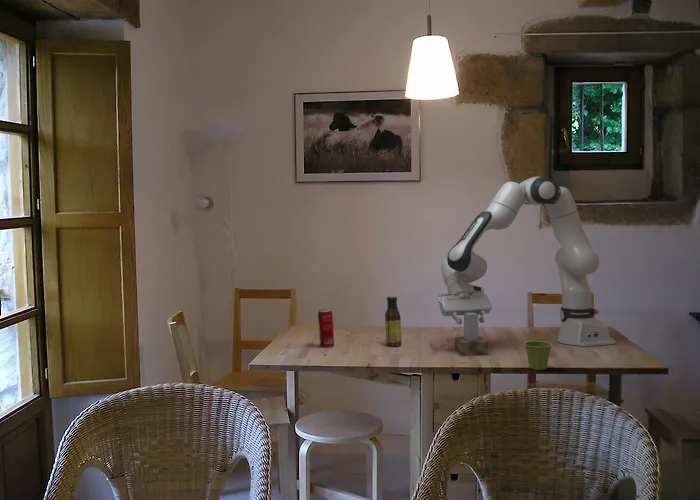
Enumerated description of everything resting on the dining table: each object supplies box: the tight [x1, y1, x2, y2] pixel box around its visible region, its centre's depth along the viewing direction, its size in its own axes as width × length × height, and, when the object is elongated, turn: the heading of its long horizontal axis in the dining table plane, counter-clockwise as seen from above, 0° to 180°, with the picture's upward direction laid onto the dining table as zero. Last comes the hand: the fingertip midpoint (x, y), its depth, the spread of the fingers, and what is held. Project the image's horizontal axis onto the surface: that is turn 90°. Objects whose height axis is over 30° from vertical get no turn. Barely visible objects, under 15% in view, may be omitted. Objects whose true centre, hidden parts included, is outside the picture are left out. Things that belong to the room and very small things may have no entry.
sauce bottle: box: [384, 295, 402, 348], centre depth 296 cm, size 7×6×20 cm
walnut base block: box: [454, 336, 489, 357], centre depth 280 cm, size 10×10×5 cm
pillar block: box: [463, 312, 479, 341], centre depth 280 cm, size 4×4×10 cm
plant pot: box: [524, 340, 553, 371], centre depth 256 cm, size 9×9×9 cm
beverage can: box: [317, 308, 335, 349], centre depth 296 cm, size 6×6×15 cm
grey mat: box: [452, 349, 492, 358], centre depth 281 cm, size 12×12×1 cm
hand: (471, 322), depth 279 cm, fingers open, 8 cm apart
